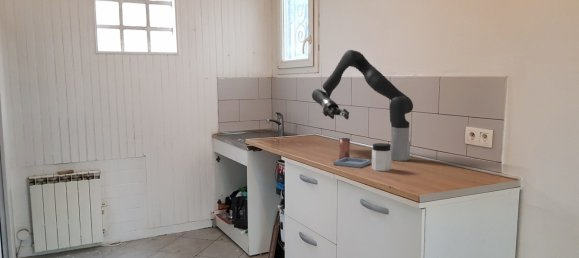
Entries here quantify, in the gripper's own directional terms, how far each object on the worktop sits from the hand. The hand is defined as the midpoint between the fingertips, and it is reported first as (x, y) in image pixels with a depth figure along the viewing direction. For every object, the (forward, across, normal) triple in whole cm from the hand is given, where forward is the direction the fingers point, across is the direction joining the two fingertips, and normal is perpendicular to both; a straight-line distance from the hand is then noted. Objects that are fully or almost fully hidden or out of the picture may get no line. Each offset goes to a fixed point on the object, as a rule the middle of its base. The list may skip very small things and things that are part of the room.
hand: (340, 117), depth 241 cm
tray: (+28, -2, +13) cm, 31 cm away
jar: (+43, +5, +8) cm, 44 cm away
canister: (+14, 0, +18) cm, 23 cm away
